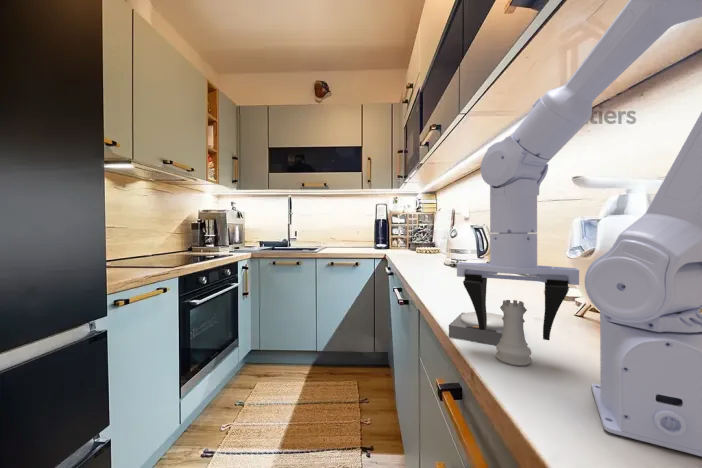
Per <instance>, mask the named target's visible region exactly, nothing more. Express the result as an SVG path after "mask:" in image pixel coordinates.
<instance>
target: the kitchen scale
mask: <svg viewBox="0 0 702 468" xmlns="http://www.w3.org/2000/svg"><path fill="white" fill-rule="evenodd" d="M486 314H487V327H486V328H485V330H479V325H478V319H477V315H476V312H475V311H469V312H461V313H460V314H459V315H458V316H456V318H455V319H454V320H452V322H450V323H449V324H448V338H451V337H454V338H453V339H457V338H458V340H463V339H464V340H463V341H468V340H470V342H474V341H476V342H475V343H480V342H481V343H482V344H486V343H487V345H493V346H497V344H498V343H499V342H500V341H499V340H500V339H501V337H502V332H503V320H502V318H503V317H504V314H503V315H502V314H498V313H492V312H486ZM481 343H480V344H481Z"/></svg>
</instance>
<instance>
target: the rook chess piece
mask: <svg viewBox="0 0 702 468" xmlns="http://www.w3.org/2000/svg"><path fill="white" fill-rule="evenodd" d="M524 305H525V303H524V302H523V301H522V300H520V301H518V300H517V299H516V300H515V299H513V301H512V302H511V300H510V299H505V300H502V304H501V306H500V307H499V309H500V310H501V311H502V313H503V316H504V317H503V318H502V320H503V332H502V337H501V339H500V340H499V341H500V342H499V343H498V344H497V345H495V349H496V350H497V351H496V352H495V357H496V358H497V359H498V360H499V361H500V363H501V362H502V363H503V364H507V365H511V366H514V367H515V366H516V367H526V366H528V365H530V364H531V363H532V361H533V359H532V357H531V355H532V351H531V350H532V349H531V348H530V347H529V346H528V345H529V344H528V342H527V341H526V335H525V330H524V324H525V322H526V321H525V319H524V314H526V312H527V311H528V309H527V308H526V307H525V306H524Z"/></svg>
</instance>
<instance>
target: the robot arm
mask: <svg viewBox="0 0 702 468" xmlns="http://www.w3.org/2000/svg"><path fill="white" fill-rule="evenodd" d="M700 18H702V0H628V1H627V2H626V4H625V5H624V6H623V8H622V9H621V10H620V12H619V13H618V15H617V16H616V17H615V18H614V20H613V22H612V23H611V24H610V25H609V26H608V27H607V29H606V30H605V32H604V33H603V34H602V36H601V37H600V38H599V40H598V41H597V43H596V44H595V45H594V46H593V48H592V49H591V50H590V52H589V53H588V55H586V56H585V59H584V60H583V61H582V62H581V63H580V65H579V67H577V69H576V70H575V72H574V73H573V74H572V76H571V77H570V79H568V81H567V82H566V83H565V84H564V85H561V86H559V87H556V88H554V89H553V88H552V89H549V90H548V91H546V92H545V93H544V94H543V95H542V97H539V98H538V99H537V100H536V101H535V102H534V103H533V104H532V109H531V111H530V112H529V113H528V114H527V115H526V116H525V118H524V119H523V120H522V122H521V123H520V124H519V126H517V128H516V129H515V131H514V132H513V133H512V134H510V135H508V136H506V137H505V138H504V139H503V140H501V141H497V142H495V143H493V144H490V146H489V147H488V148H487V150H486V152H485V153H484V154H483V157H482V160H481V163H480V175H481V178H482V179H483V181H484V182H485V183H486V184H487V185H489V190H490V191H489V248H490V249H489V251H490V254H489V257H490V258H489V262H458V263H456V277H460V278H464V280H463V281H462V283H463V286H464V288H465V290H466V292H467V294H468V296H469V298H470V301H471V302H472V303H471V304H472V306H473V309H474V312H476V315H477V319H478V325H479V330H485V328H486V327H487V314H486V313H487V284H488V279H499V280H511V281H512V280H513V281H525V282H543V283H544V316H543V326H542V340H544V341H550V337H551V330H552V327H553V324H554V321H555V318H556V315H557V313H558V311H559V309H560V307H561V305H562V303H563V302H564V300H565V298H566V297H567V294H568V292H569V290H570V287H569V285H573V286H580V269H579V268H578V267H565V266H563V267H562V266H553V265H552V266H551V265H550V266H549V265H538V196H540V186H541V185H542V184H541V183H542V182H543V181H544V180H545V178H546V177H547V175H548V174H547V173H548V170H549V164H548V163H549V162H550V160H552V159H553V158H554V157H555V156H556V155H557V154H558V153H559V152H560V151H561V150H562V149H563V148H564V146H566V145H567V144H568V143H569V142H570V141H571V139H573V137H574V136H575V135H577V133H578V132H579V131H580V130H581V129H583V127H584V126H585V125H587V123H588V122H589V121H590V120H591V118H592V115H593V112H592V111H593V102H594V101H595V100H596V98H598V97H599V96H600V95H601V94H602V93H603V92H604V91H605V90H607V88H608V87H609V86H611V84H613V82H615V81H616V80H617V79H618V78H619V77H620V76H621V75H622V74H623V73H624V72H625V71H626V70H627V69H628V68H629V67H630V66H631V65H633V63H634V62H635V61H637V60H638V59H639V58H640V57H641V56H642V55H643V54H644V53H645V52H646V51H647V50H648V49H649V48H651V46H653V44H654V43H656V41H658V40H659V39H661V37H662V36H663V35H664V34H665V33H666V32H667V31H668V30H669V29H670V28H672V27H673V26H675V25H678V24H682V23H685V22H688V21H692V20H696V19H700ZM511 274H512V275H511ZM523 275H524V276H523ZM526 275H528V276H526ZM584 288H585V292H586V295H587V296H588V297H587V298H588V299H589V300H590V302H591V303H592V304H593V305H594V307H595V308H596V309H597V310H598V311H599V322H600V324H599V329H600V330H599V335H600V338H599V339H600V341H599V345H600V347H599V348H600V349H599V351H600V353H599V354H600V356H599V357H600V358H599V360H600V367H599V368H600V371H599V373H600V376H599V377H600V383H595V382H593V383H591V384H590V387H591V391H592V393H593V397H594V402H595V404H596V408H597V411H598V415H599V417H600V421H601V424H602V427H603V428H602V429H604V430H605V431H606V432H608V433H611V434H614V435H619V436H621V437H625V438H630V439H633V440H636V441H640V442H645V443H648V444H652V445H656V446H660V447H663V448H667V449H672V450H676V451H679V452H682V453H687V454H691V455H694V456H698V457H702V312H701V310H702V111H701V112H700V114H699V116H698V118H697V119H696V121H695V123H694V125H693V127H692V128H691V131H689V134H688V135H687V138H686V140H685V141H684V143H683V145H682V146H681V149H680V150H679V152H678V154H677V155H676V157H675V159H674V161H673V163H672V165H671V166H670V168H669V169H668V172H667V173H666V175H665V177H664V179H663V180H662V183H661V185H660V186H659V188H658V190H657V192H656V193H655V195H654V197H653V198H652V201H651V202H650V204H649V206H648V208H647V210H646V212H645V213H644V214H643V215H642V216H641V217H639V218H637V220H636V221H634V222H633V223H632V224H630V225H629V226H628V227H627V228H625V229H624V230H622V232H620V234H618V236H617V238H616V240H615V242H614V243H613V245H612V246H611V247H610V249H608V251H606V252H605V253H604V254H602V255H600V256H599V257H597V258H595V259H594V260H593V261H592V262H591V263H590V265H589V266H588V268H587V269H586V272H585V276H584Z"/></svg>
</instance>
